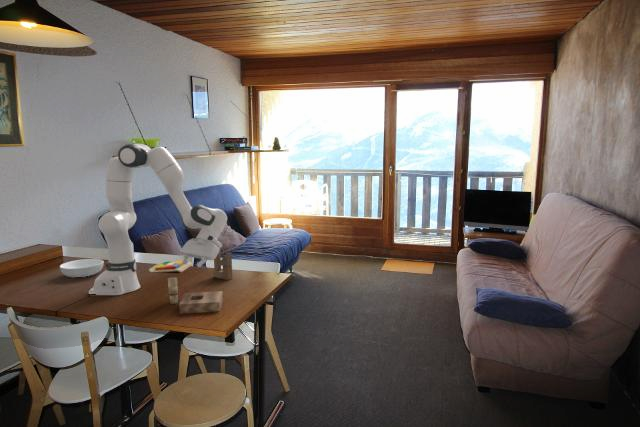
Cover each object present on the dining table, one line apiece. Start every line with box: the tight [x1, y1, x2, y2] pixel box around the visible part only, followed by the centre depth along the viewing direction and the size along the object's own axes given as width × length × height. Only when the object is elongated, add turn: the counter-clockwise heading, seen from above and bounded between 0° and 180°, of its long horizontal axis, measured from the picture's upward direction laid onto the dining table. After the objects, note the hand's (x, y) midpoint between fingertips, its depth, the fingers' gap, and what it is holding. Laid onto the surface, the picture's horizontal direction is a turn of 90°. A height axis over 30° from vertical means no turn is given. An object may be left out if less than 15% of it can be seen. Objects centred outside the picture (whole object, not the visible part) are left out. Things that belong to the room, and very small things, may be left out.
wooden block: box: [212, 248, 234, 281], centre depth 227 cm, size 4×11×18 cm, turn 57°
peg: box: [167, 276, 179, 305], centre depth 192 cm, size 4×4×11 cm
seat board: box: [178, 290, 223, 315], centre depth 187 cm, size 16×14×4 cm
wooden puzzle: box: [148, 260, 193, 273], centre depth 249 cm, size 18×19×4 cm
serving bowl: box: [59, 258, 105, 278], centre depth 237 cm, size 21×21×7 cm
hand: (190, 265), depth 199 cm, fingers open, 8 cm apart
